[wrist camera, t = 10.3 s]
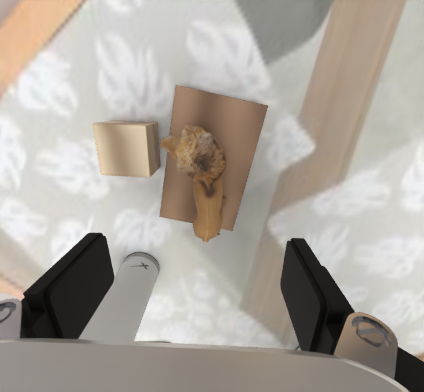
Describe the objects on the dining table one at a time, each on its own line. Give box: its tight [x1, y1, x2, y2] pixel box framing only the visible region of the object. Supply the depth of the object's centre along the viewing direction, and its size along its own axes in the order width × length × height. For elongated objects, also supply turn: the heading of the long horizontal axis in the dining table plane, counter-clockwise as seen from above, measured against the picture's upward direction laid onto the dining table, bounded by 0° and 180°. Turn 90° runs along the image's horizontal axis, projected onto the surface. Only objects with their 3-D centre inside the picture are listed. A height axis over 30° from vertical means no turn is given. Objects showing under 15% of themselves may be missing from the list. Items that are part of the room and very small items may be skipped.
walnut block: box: [160, 85, 268, 231], centre depth 28 cm, size 10×16×5 cm, turn 168°
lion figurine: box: [160, 125, 227, 242], centre depth 22 cm, size 15×5×9 cm, turn 11°
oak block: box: [92, 121, 160, 177], centre depth 27 cm, size 6×6×5 cm
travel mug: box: [78, 253, 159, 341], centre depth 28 cm, size 6×7×20 cm
